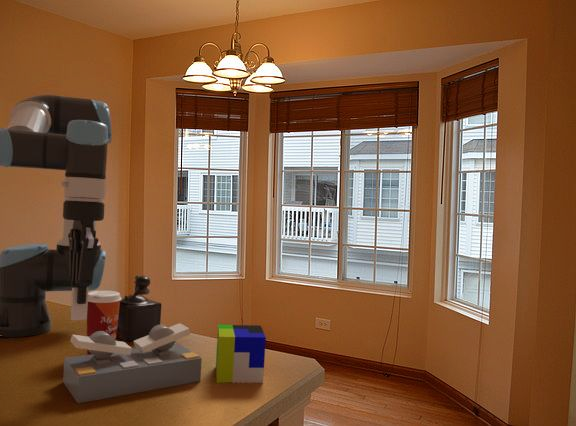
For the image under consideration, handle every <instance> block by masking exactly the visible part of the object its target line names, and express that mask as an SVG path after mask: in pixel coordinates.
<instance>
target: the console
mask: <svg viewBox="0 0 576 426" xmlns="http://www.w3.org/2000/svg"><path fill="white" fill-rule="evenodd" d="M201 375H202V357H201V356H200V355H198V353H195V352H194V351H192V350H190V349H189V348H186V347H185V346H184V345H182V344H180V343H176V342H175V343H174V345H173V346H172V347H171V348H170V349H169V350H166V351H161V350H159V349H157V348H155V349H153V350H150V351H148V352H145V353H142V352H141V351H139V350H138V349H137V348H132V350H131V354H130V355H125V354H118V353H113V354H112V355H111V356H110V357H108V358H106V359H98V358H96V357H95V356H94V355H93V354H91V355H88V354H86V355H78V356H77V355H76V356H70V357H64V358H63V379H62V383H63V385H64V386H65V387H66V389H67V390H68V391H69V393H70V394H71V396H72V397H73V399H74V400H75V402H76V403H77V404H82V403H88V402H94V401H99V400H104V399H110V398H115V397H120V396H122V397H123V396H126V395H132V394H136V393H137V394H138V393H142V392H148V391H154V390H159V389H164V388H170V387H176V386H182V385H187V384H192V383H197V382H201V377H202V376H201Z"/></svg>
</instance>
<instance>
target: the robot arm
mask: <svg viewBox="0 0 576 426" xmlns="http://www.w3.org/2000/svg"><path fill="white" fill-rule="evenodd" d="M9 121H10V122H9V123H8V125H7V127H1V128H0V166H2V167H4V168H10V167H11V168H26V169H42V170H56V171H65V173H64V181H62V182H61V187H64V191H63V196H64V202H63V204H62V205H63V207H62V218H63V225H62V226H63V227H62V228H63V230H62V231H63V232H62V238H61V239H59V240H58V241H57V242H56V248H55V249H51V248H50V249H49V246H48V244H47V243H29V244H22V245H15V246H10V247H9V246H8V247H6V248H4V249H3V250H2V251H1V252H0V335H2V336H3V337H2V338H23V337H31V336H37V335H41V334H44V333H47V332H49V331H50V330H51V329H52V319H51V316H50V312H49V309H48V305H47V302H46V295H47V294H46V293H47V292H71V303H70V320H71V321H73V322H74V321H85V320H86V321H87V306H88V293H89V292H91V291H97V289H98V288H100V286H101V283H102V279H103V275H104V271H105V265H106V256H107V252H106V250H104V249H101V247H102V245H101V244H102V243H101V242H100V241H99V238H98V237H96V236H97V235H96V233H97V222H100V221H103V220H104V219H105V203H104V202H103V200H104V199H106V187H107V179H106V178H107V175H106V171H107V159H108V157H107V156H108V144H111V143H112V138H113V137H112V121H111V113H110V107H109V106H108V105H107V103H105V102H104V101H99V100H94V99H92V98H90V99H88V98H81V97H73V96H72V97H70V96H61V95H56V94H42V95H35V96H30V97H28V98H25V99H22V100H21V101H19V102H17V103H16V104H15V105H14V106H13V108H12V109H11V111H10V114H9Z"/></svg>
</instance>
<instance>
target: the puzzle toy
mask: <svg viewBox="0 0 576 426" xmlns="http://www.w3.org/2000/svg"><path fill="white" fill-rule="evenodd" d="M266 339H267V338H266V334H265V332H264V330H263V328H262V326H261V325H259V324H258V325H256V324H255V325H249V324H247V325H245V324H244V325H243V324H217V338H216V353H215V354H216V358H215V373H216V374H215V376H216V383H218V384H219V383H221V382H222V383H224V384H225V382H227V384H228V382H233V384H235V382H237V383H240V382H241V383H240V384H242V383H243V384H245V383H246V382H247V383H246V384H249V383H254V382H255V383H256V384H257V383H261V384H264V372H265V358H266V356H265V355H266V343H267V342H266ZM237 383H236V384H237ZM255 383H254V384H255Z"/></svg>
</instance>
